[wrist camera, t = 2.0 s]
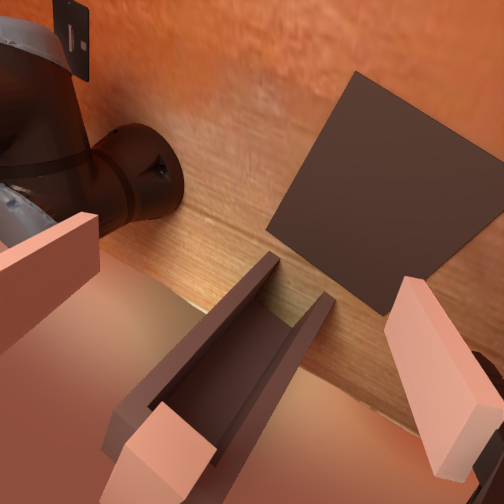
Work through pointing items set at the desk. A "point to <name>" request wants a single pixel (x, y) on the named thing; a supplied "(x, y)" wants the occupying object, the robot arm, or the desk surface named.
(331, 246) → the mat
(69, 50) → the solid state drive
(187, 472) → the pale pink long block
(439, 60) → the desk surface
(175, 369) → the tall stand
